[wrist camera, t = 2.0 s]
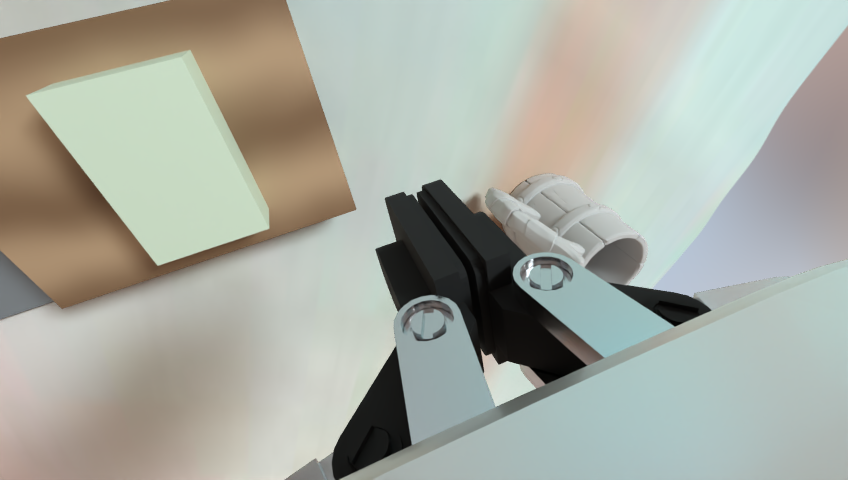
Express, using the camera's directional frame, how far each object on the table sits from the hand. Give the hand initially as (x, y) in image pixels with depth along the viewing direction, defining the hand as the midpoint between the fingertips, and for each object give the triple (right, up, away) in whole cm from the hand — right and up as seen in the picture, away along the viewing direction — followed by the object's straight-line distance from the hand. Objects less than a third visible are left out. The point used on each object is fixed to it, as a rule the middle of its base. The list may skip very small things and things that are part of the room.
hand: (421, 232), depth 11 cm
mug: (+9, +3, +23) cm, 25 cm away
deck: (-15, +6, +12) cm, 20 cm away
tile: (-13, +4, +8) cm, 15 cm away
